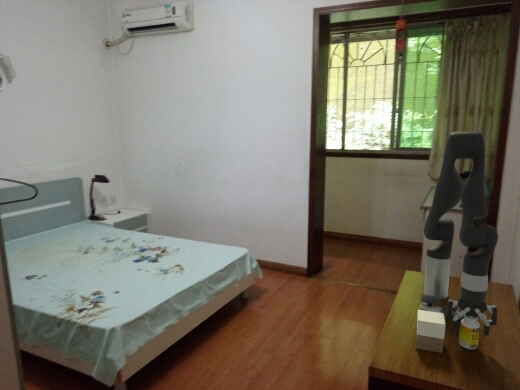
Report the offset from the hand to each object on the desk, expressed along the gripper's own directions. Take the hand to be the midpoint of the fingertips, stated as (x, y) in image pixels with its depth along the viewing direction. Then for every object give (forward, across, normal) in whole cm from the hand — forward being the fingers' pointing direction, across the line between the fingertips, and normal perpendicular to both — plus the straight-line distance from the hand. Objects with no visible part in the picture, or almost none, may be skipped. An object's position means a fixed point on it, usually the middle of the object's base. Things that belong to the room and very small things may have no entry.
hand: (469, 332), depth 128 cm
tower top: (0, +12, +4) cm, 12 cm away
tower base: (+5, +12, +4) cm, 13 cm away
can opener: (+5, +6, -21) cm, 22 cm away
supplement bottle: (+5, 0, 0) cm, 5 cm away
